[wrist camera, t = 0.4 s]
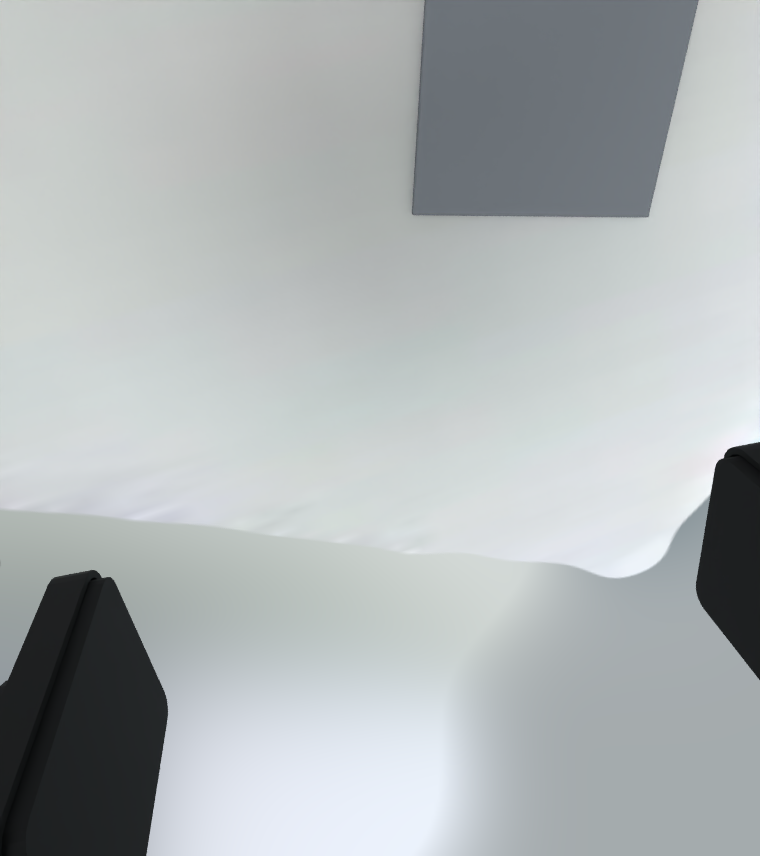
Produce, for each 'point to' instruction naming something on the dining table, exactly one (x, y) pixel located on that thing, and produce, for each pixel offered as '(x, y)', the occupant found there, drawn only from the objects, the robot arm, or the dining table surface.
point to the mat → (546, 105)
